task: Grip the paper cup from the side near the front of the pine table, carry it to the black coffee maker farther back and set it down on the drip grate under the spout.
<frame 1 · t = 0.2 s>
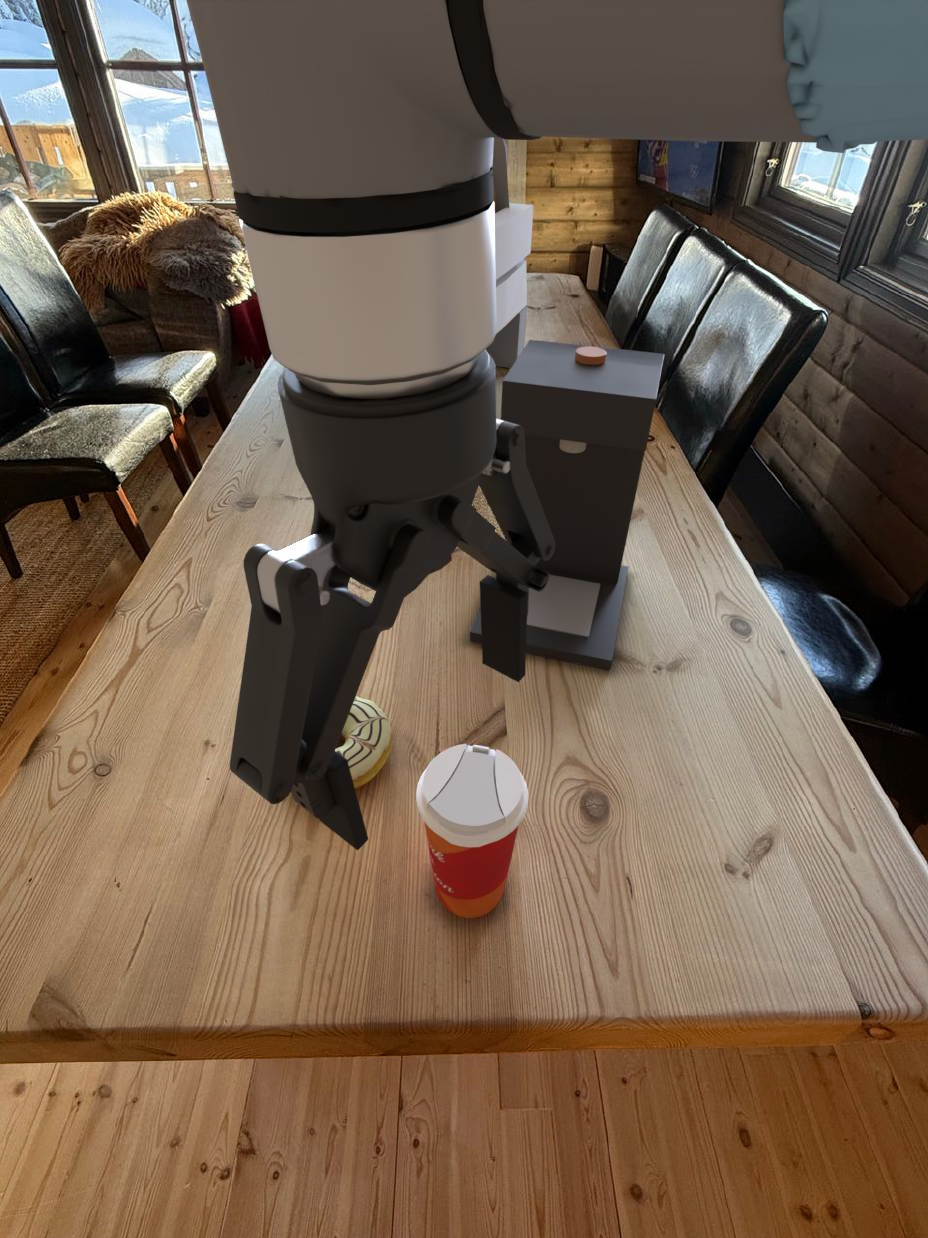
hand: (432, 741, 37), 22 cm above the table, tool pointing down, fingers open, 13 cm apart
coffee maker: (551, 611, 79), on the table
soupspoon: (384, 455, 110), on the table
serving bowl: (560, 443, 114), on the table
transformer: (424, 377, 136), on the table
decorated donut: (336, 755, 63), on the table
paper cup: (469, 886, 53), on the table
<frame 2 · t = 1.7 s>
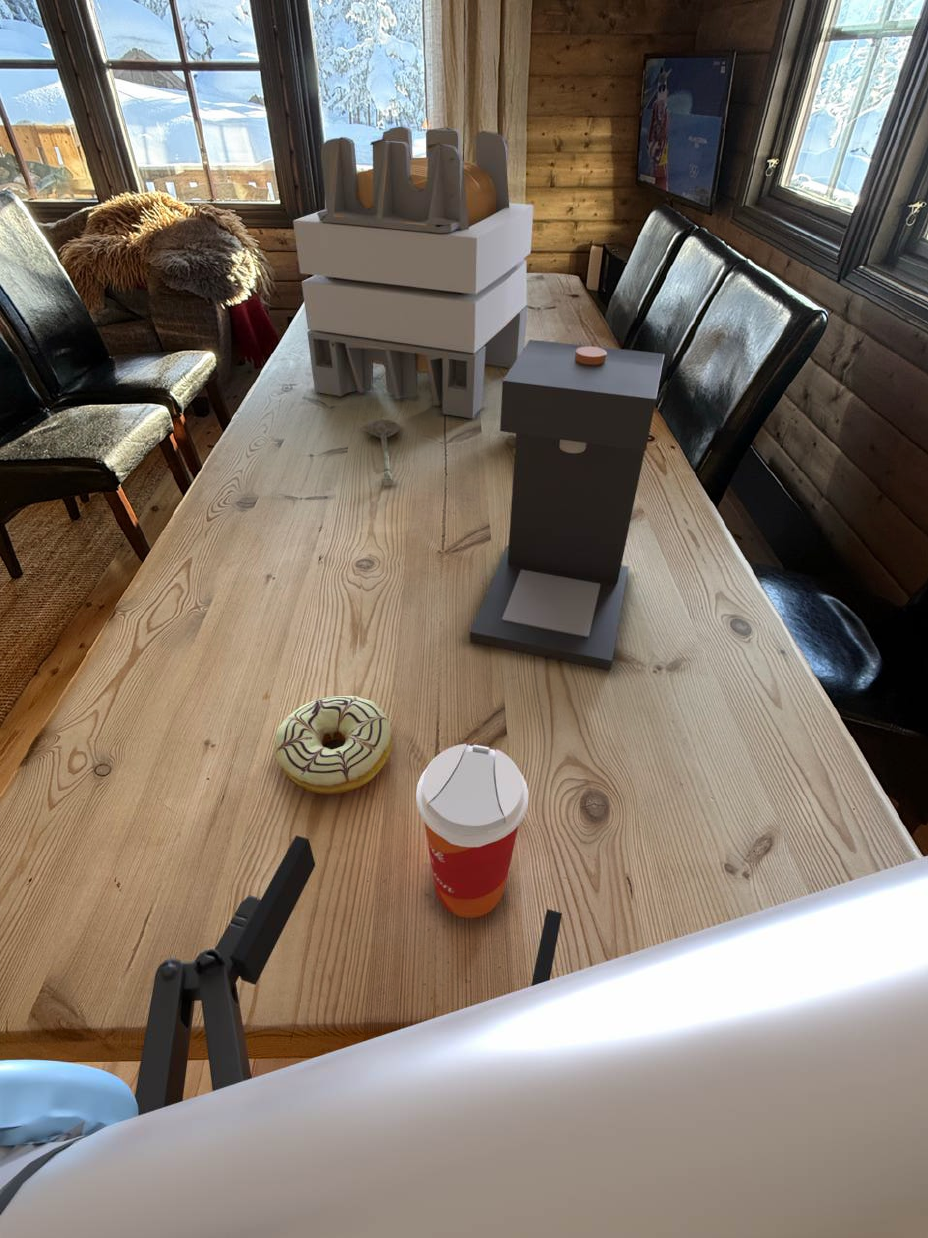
hand: (424, 884, 35), 18 cm above the table, tool horizontal, fingers open, 13 cm apart
nothing on the table moved.
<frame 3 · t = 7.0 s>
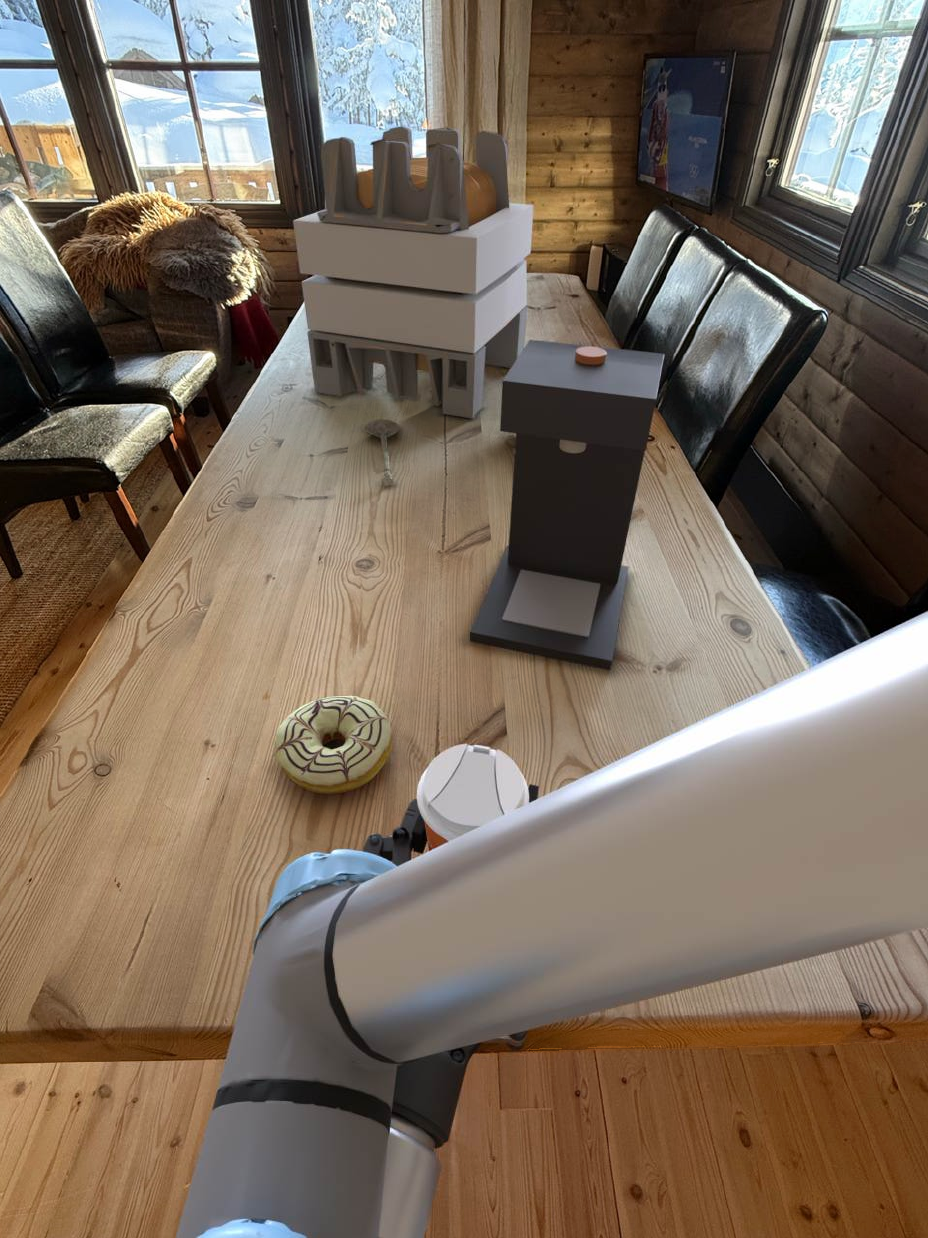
hand: (487, 784, 52), 7 cm above the table, tool horizontal, fingers closed on paper cup, 7 cm apart
paper cup: (469, 886, 53), on the table, touching gripper
everything else where it was.
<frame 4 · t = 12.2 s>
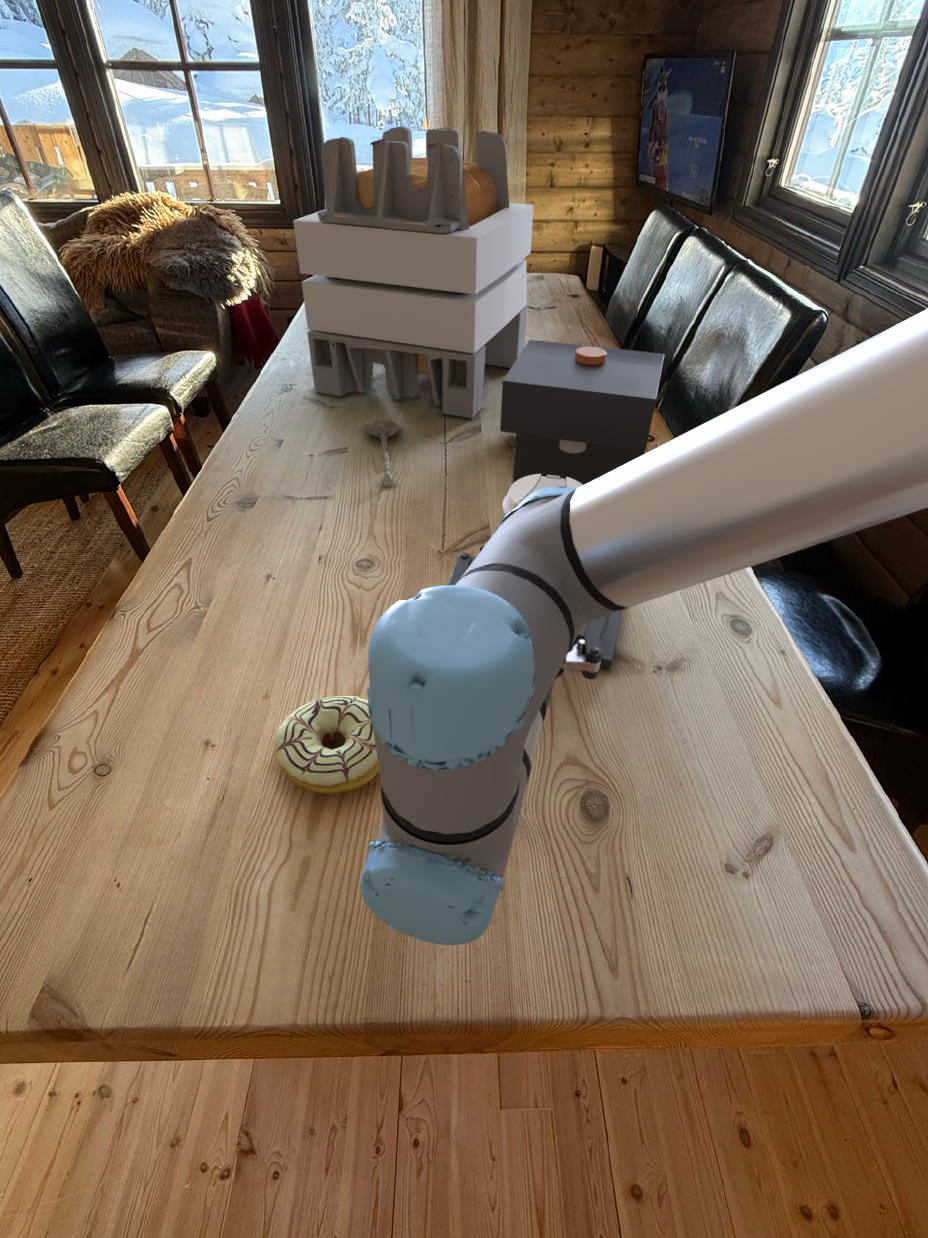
hand: (551, 532, 62), 17 cm above the table, tool horizontal, fingers closed on paper cup, 7 cm apart
paper cup: (534, 622, 64), point 9 cm above the table, touching gripper
everything else where it was.
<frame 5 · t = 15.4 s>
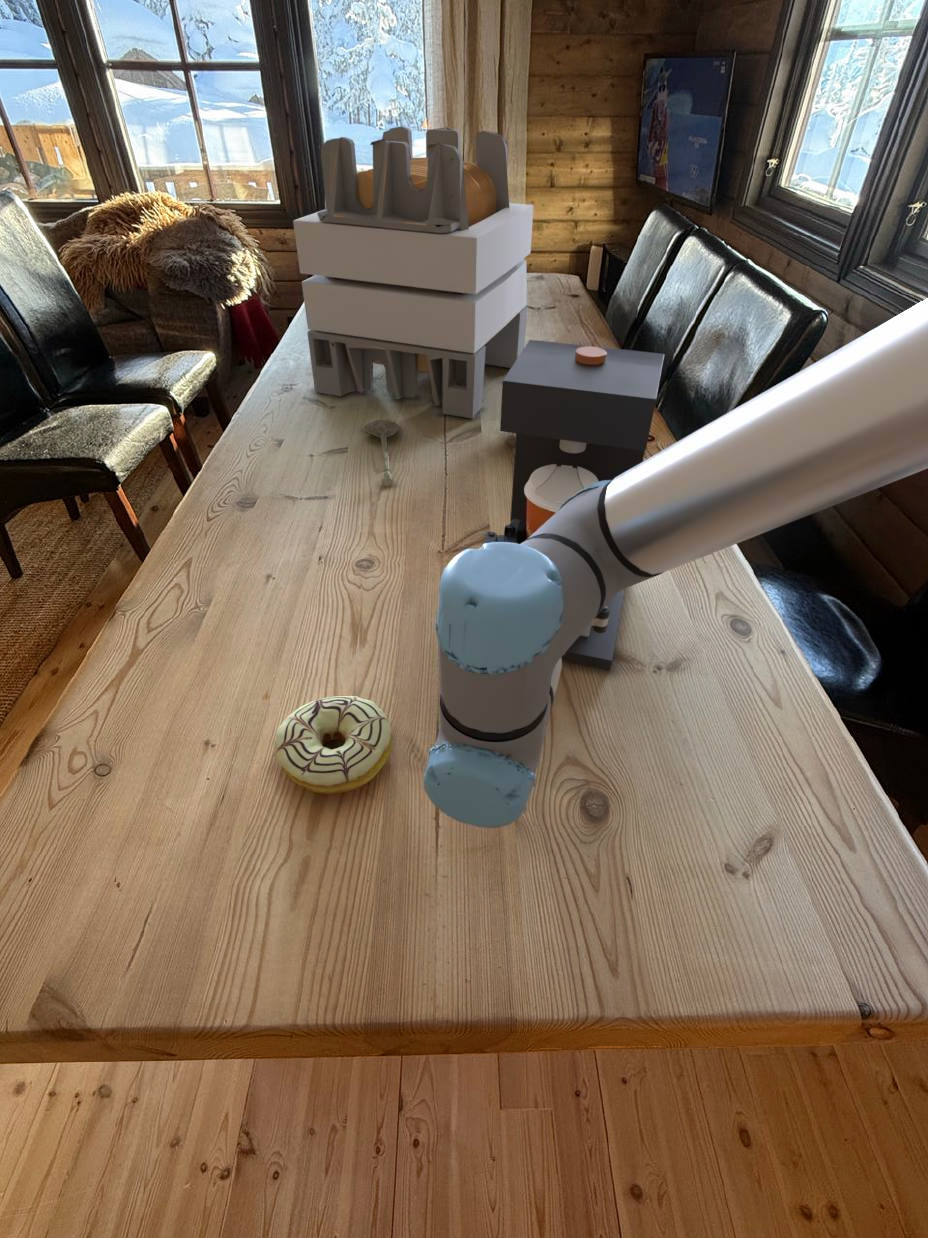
hand: (564, 515, 73), 12 cm above the table, tool horizontal, fingers closed on paper cup, 7 cm apart
paper cup: (550, 593, 74), point 5 cm above the table, touching gripper
everything else where it was.
when the fingers open (9 cm above the table, at t = 17.8 s): paper cup stays where it is, resting on coffee maker.
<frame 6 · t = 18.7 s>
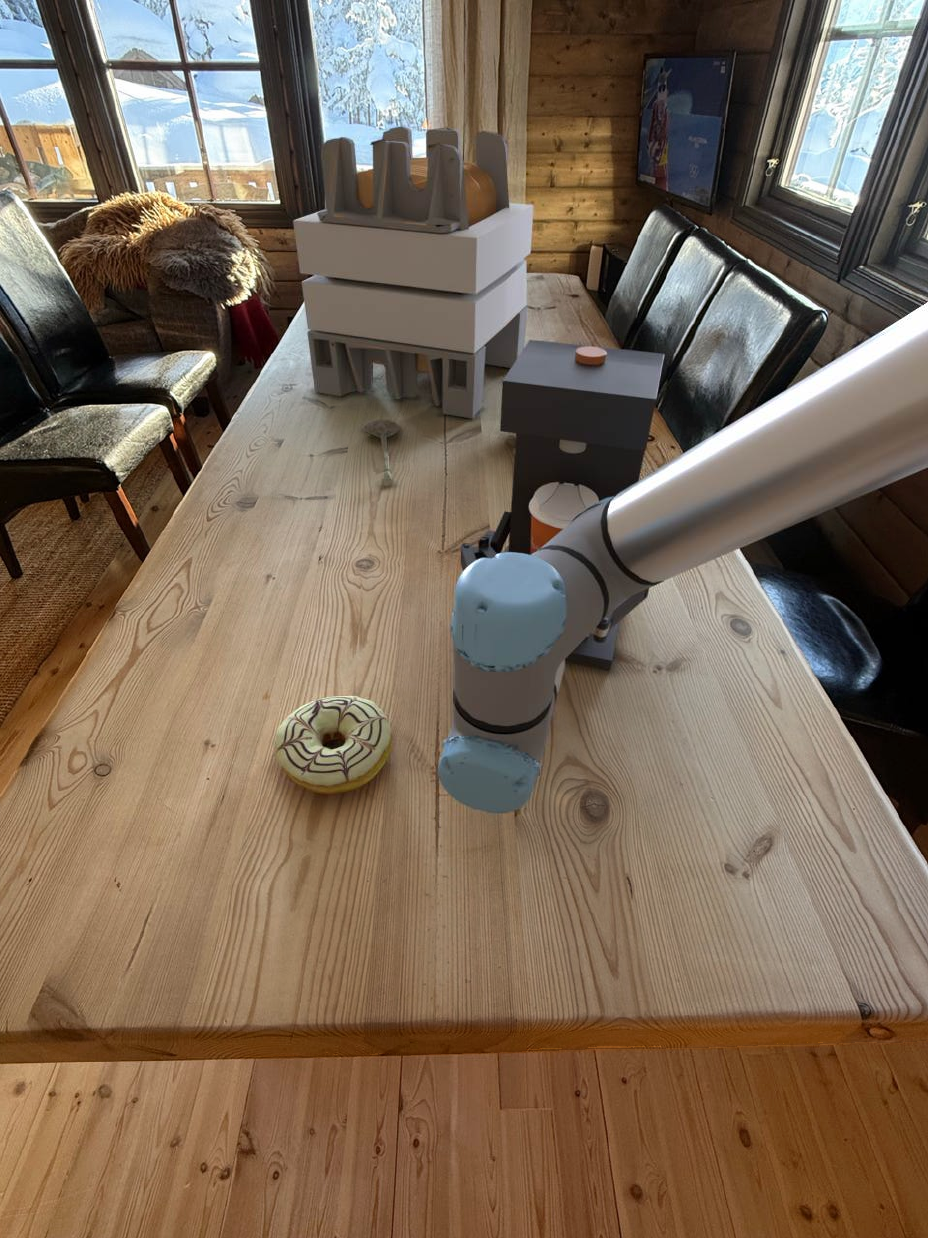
hand: (565, 530, 75), 10 cm above the table, tool horizontal, fingers open, 13 cm apart
paper cup: (552, 602, 78), point 2 cm above the table, touching coffee maker
everything else where it was.
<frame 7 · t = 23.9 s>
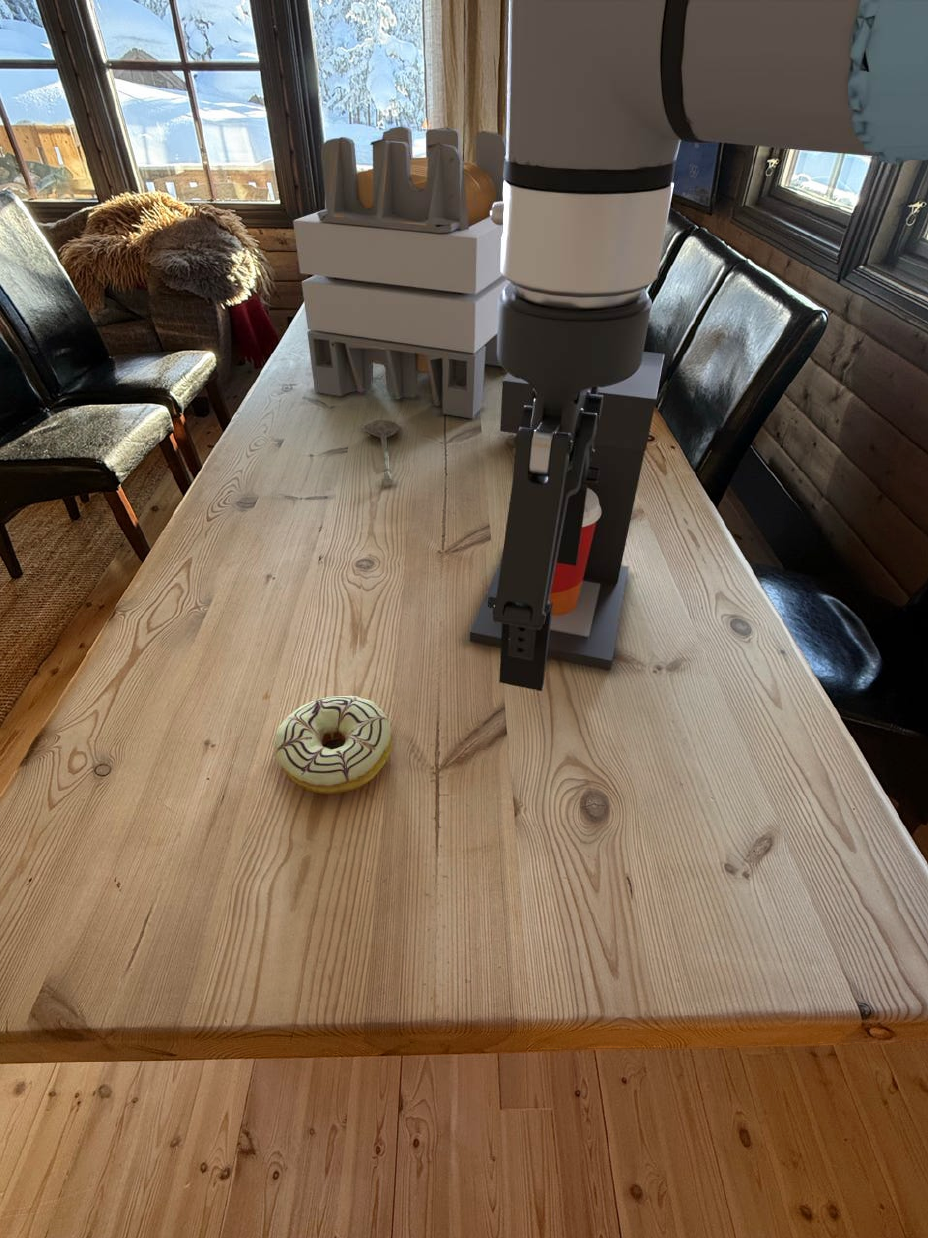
hand: (542, 615, 46), 21 cm above the table, tool pointing down, fingers open, 13 cm apart
nothing on the table moved.
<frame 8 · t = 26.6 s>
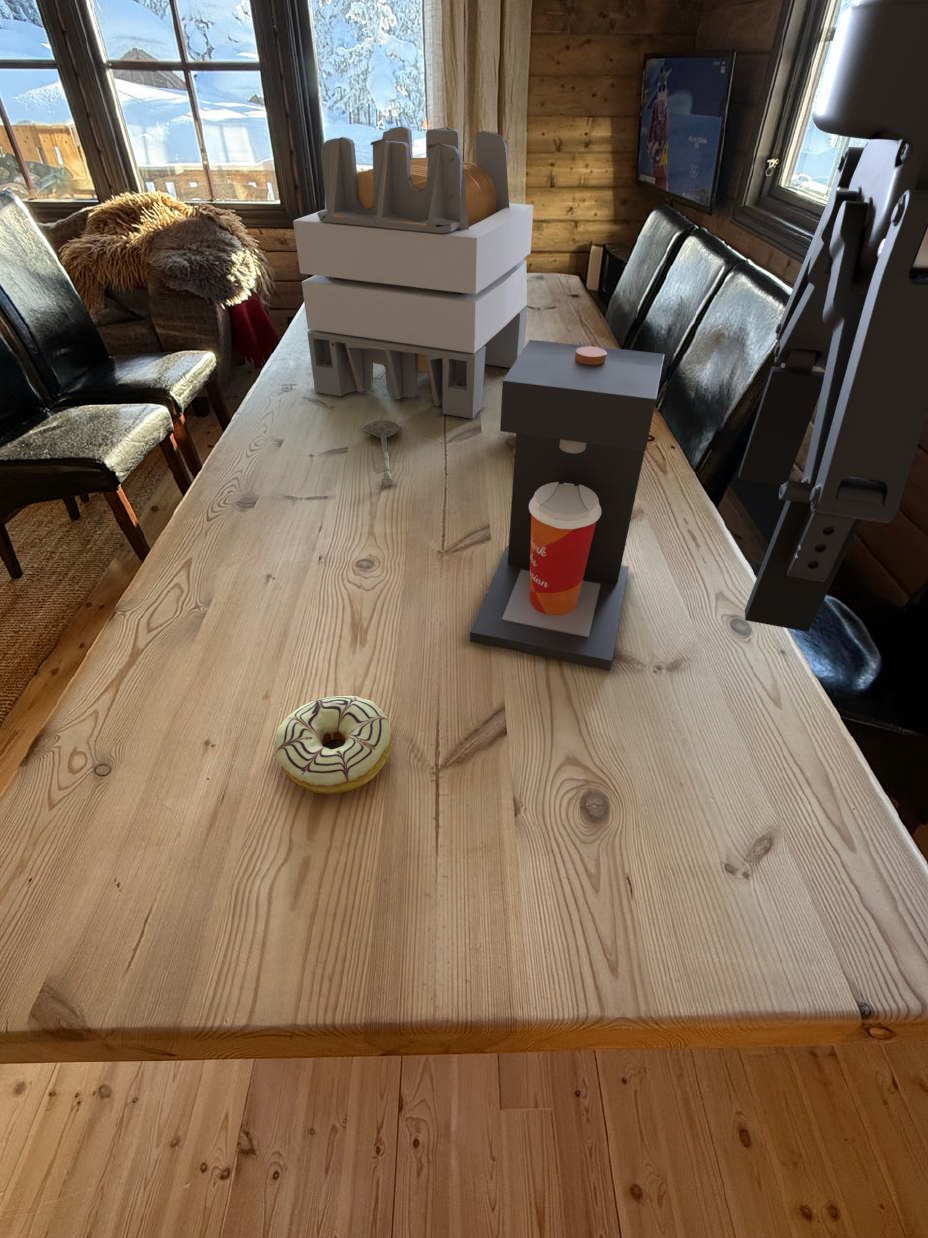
hand: (767, 540, 35), 32 cm above the table, tool pointing down, fingers open, 13 cm apart
nothing on the table moved.
at the end: paper cup 0.0 cm off-centre on the coffee maker, point 1.5 cm above the coffee maker's base; paper cup tilted 0°; the gripper is holding nothing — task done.
